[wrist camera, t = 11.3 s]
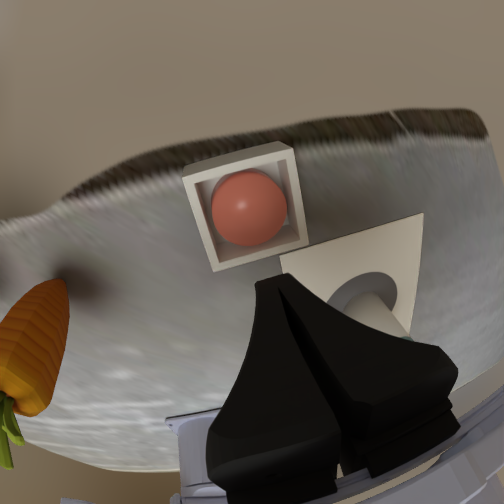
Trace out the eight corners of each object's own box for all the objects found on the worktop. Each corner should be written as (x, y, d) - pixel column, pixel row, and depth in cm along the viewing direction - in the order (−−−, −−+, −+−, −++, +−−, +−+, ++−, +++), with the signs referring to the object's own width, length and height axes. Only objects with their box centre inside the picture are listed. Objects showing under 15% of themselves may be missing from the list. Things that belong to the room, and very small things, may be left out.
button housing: (294, 225, 21) (309, 244, 18) (210, 249, 20) (213, 272, 18) (278, 140, 18) (292, 148, 15) (184, 165, 17) (182, 177, 15)
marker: (378, 317, 27) (420, 376, 20) (342, 331, 27) (378, 396, 20) (380, 285, 25) (430, 346, 18) (341, 300, 25) (384, 368, 18)
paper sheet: (405, 349, 31) (405, 350, 31) (304, 389, 31) (305, 390, 30) (422, 212, 22) (423, 213, 22) (279, 255, 22) (279, 256, 21)
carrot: (40, 242, 18) (-66, 410, 5) (96, 268, 20) (29, 465, 7) (33, 292, 19) (-39, 448, 6) (83, 315, 21) (37, 487, 8)
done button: (283, 221, 19) (292, 234, 18) (220, 239, 19) (223, 254, 18) (270, 160, 17) (279, 167, 16) (202, 178, 17) (203, 187, 15)
